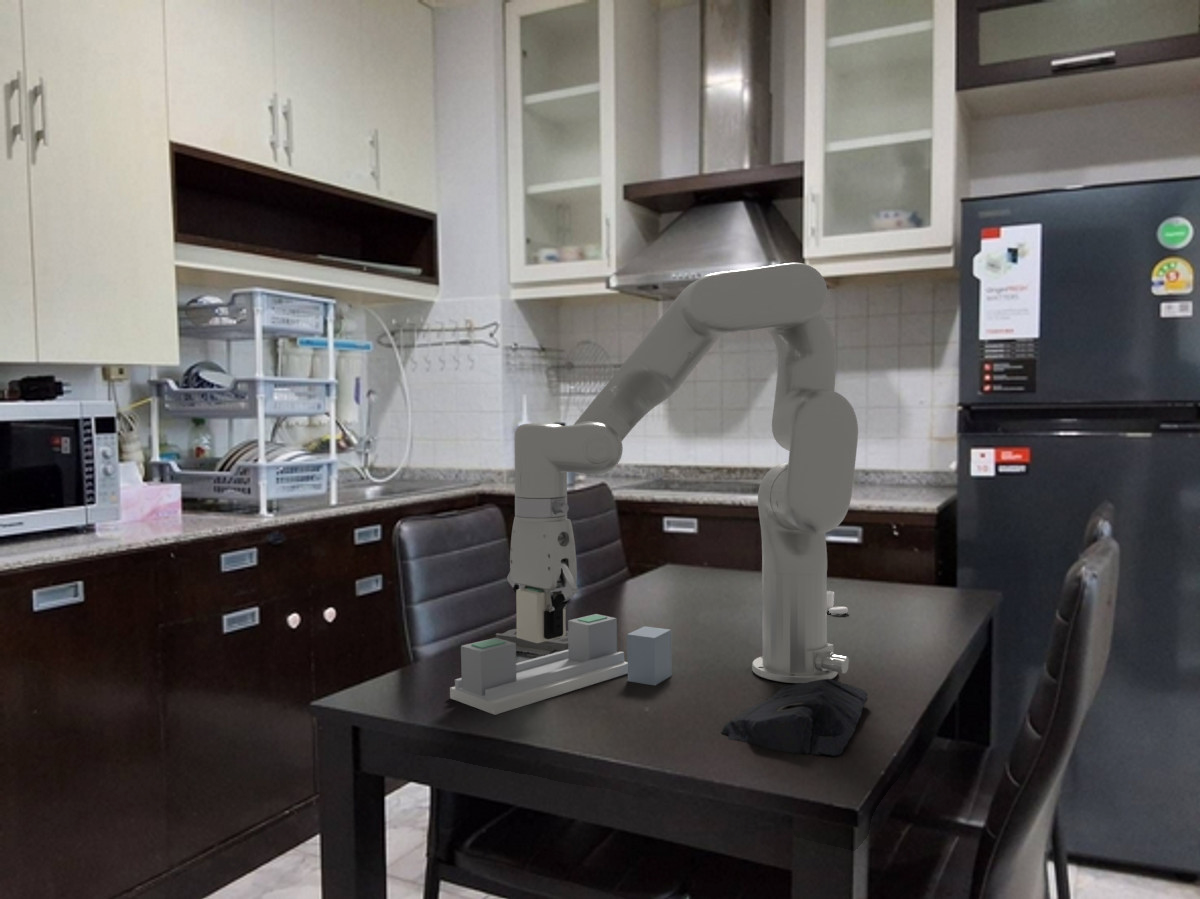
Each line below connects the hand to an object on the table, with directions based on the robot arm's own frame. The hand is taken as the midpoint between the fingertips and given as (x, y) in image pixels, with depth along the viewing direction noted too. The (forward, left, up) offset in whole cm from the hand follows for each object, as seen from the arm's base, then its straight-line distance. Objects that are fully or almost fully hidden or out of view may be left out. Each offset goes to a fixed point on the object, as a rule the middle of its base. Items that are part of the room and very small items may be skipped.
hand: (541, 632), depth 132 cm
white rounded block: (-5, -67, -8) cm, 67 cm away
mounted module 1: (0, +10, -6) cm, 11 cm away
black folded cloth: (-36, -13, -8) cm, 39 cm away
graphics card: (+15, -15, -8) cm, 23 cm away
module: (-9, -13, -8) cm, 18 cm away
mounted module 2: (0, -10, -6) cm, 12 cm away
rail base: (0, 0, -8) cm, 8 cm away
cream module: (0, 0, -1) cm, 1 cm away
